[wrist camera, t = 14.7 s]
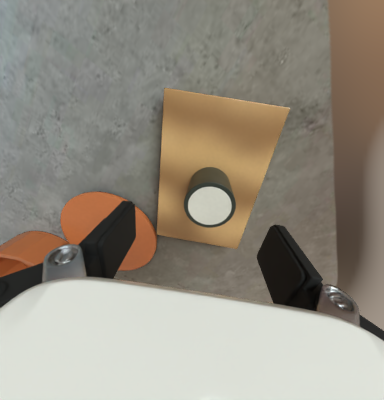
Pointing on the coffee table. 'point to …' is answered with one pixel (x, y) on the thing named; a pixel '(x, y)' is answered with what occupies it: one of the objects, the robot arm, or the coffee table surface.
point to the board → (213, 158)
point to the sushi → (209, 198)
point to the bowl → (27, 250)
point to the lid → (98, 210)
